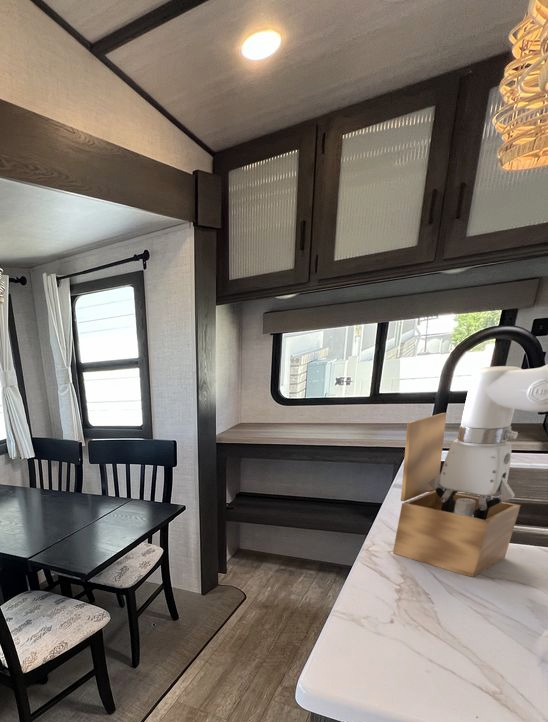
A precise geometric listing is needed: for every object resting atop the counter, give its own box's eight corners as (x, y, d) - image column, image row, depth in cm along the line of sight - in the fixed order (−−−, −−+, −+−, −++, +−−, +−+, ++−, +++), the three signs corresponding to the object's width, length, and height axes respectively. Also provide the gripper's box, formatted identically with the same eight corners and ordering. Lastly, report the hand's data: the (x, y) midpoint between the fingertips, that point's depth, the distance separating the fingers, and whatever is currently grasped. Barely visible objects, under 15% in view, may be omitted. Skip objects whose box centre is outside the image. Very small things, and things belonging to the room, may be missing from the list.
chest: (504, 558, 98) (520, 505, 94) (472, 577, 92) (487, 521, 88) (425, 537, 111) (435, 489, 106) (392, 553, 105) (402, 503, 100)
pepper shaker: (467, 541, 100) (478, 498, 96) (467, 548, 97) (479, 504, 93) (444, 538, 102) (454, 496, 98) (444, 545, 99) (454, 502, 95)
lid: (446, 412, 100) (442, 412, 101) (411, 422, 94) (407, 422, 95) (438, 487, 105) (434, 487, 106) (404, 501, 100) (400, 501, 100)
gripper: (547, 436, 85) (519, 529, 92) (444, 427, 99) (426, 509, 106) (528, 443, 82) (501, 539, 89) (424, 433, 95) (408, 517, 103)
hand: (461, 522), depth 97 cm, fingers closed on pepper shaker, 4 cm apart
